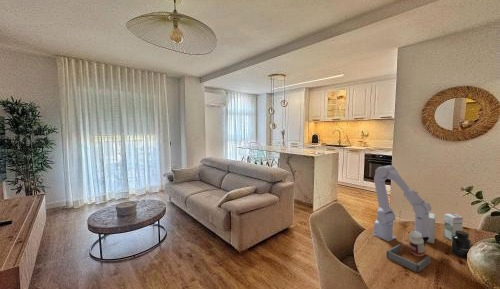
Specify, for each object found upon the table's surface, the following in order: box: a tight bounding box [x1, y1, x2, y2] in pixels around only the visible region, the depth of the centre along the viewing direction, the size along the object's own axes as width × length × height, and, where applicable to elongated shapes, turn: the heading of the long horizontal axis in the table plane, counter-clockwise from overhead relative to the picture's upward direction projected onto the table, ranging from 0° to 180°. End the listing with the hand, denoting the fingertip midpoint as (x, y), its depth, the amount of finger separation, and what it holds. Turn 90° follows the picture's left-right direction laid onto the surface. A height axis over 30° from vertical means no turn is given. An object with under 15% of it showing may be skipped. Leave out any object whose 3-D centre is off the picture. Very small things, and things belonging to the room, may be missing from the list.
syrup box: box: [443, 212, 464, 241], centre depth 125 cm, size 6×6×14 cm
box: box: [386, 243, 431, 274], centre depth 106 cm, size 14×13×4 cm
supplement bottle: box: [451, 230, 472, 259], centre depth 109 cm, size 7×7×12 cm
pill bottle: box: [408, 230, 426, 257], centre depth 110 cm, size 6×6×11 cm
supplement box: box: [426, 212, 436, 244], centre depth 126 cm, size 9×9×15 cm
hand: (420, 249), depth 113 cm, fingers closed
